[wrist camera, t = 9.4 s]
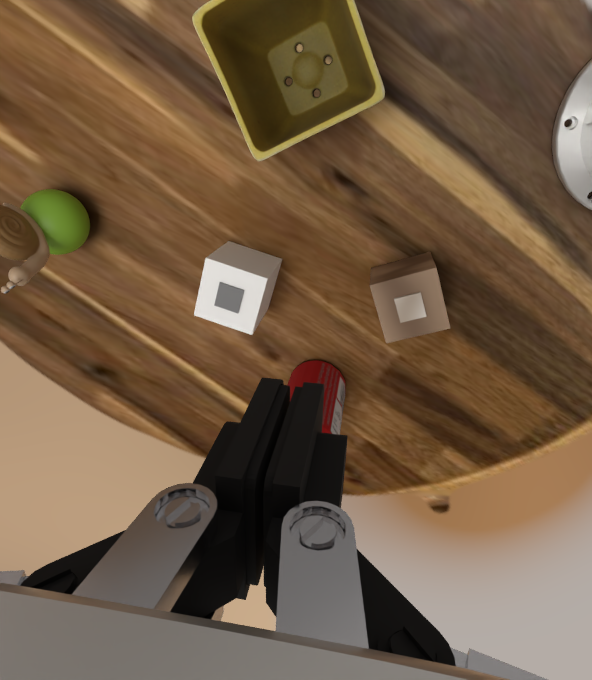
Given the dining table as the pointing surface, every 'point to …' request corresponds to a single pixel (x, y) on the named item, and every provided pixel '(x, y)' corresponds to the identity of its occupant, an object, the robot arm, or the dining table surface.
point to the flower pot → (289, 66)
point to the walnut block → (409, 298)
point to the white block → (237, 286)
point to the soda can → (332, 390)
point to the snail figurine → (40, 231)
